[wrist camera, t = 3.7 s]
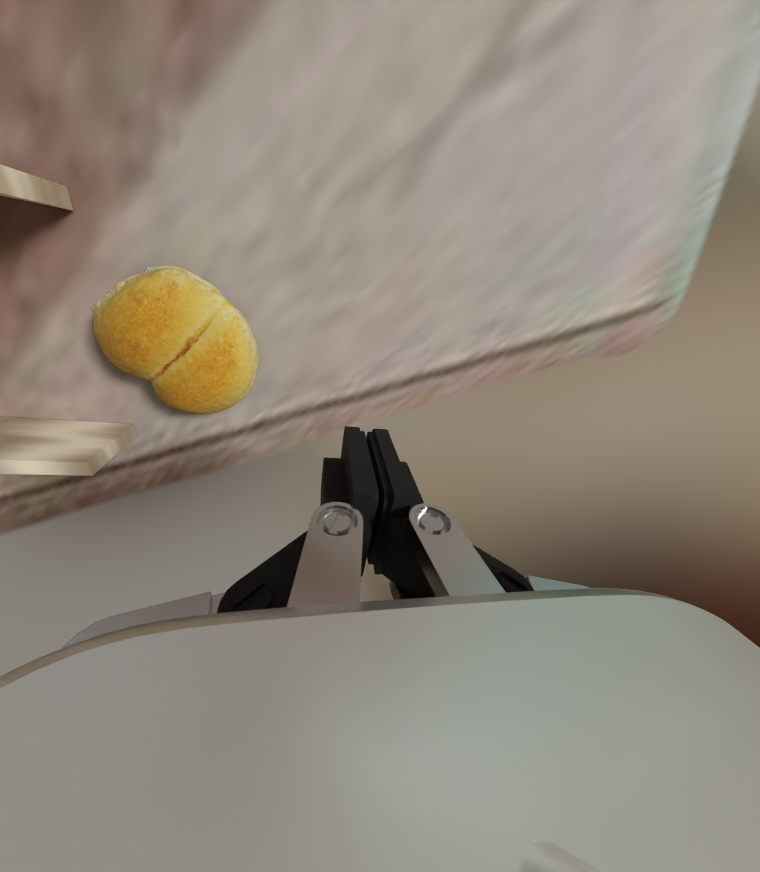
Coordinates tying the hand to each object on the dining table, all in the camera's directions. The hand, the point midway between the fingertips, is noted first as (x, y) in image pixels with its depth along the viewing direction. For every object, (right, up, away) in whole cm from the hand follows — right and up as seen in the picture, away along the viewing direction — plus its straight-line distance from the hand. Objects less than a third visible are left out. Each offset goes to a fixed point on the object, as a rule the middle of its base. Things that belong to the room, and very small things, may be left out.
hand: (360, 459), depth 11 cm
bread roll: (-12, +8, +8) cm, 17 cm away
